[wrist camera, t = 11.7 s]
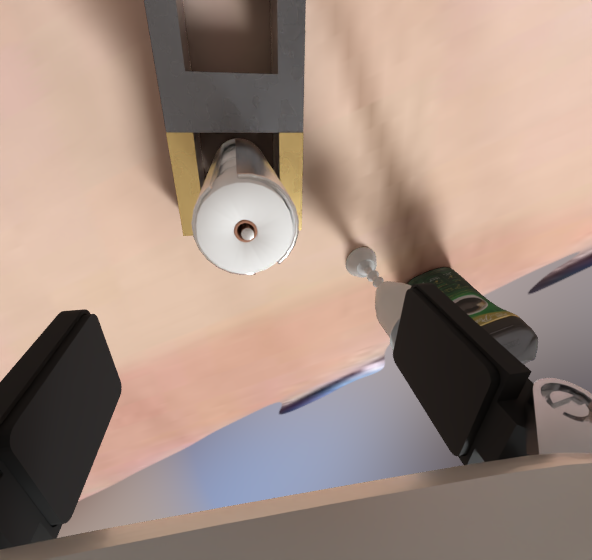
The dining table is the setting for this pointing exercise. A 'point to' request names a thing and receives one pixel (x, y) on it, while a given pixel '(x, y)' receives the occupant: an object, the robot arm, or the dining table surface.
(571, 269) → the dining table surface
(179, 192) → the dock
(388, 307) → the chalice
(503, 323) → the coffee jar
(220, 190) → the silver long cylinder
